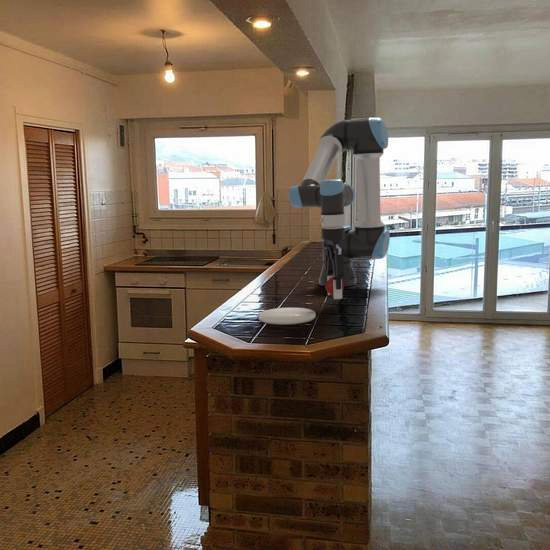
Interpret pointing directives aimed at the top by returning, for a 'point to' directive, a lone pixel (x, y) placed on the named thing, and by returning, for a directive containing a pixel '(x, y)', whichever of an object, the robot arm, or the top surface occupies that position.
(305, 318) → the plate
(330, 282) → the onion
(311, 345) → the top surface
